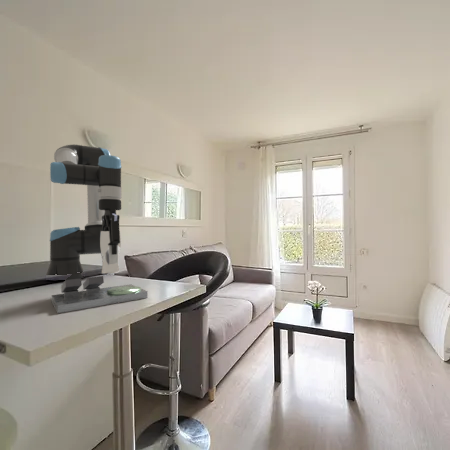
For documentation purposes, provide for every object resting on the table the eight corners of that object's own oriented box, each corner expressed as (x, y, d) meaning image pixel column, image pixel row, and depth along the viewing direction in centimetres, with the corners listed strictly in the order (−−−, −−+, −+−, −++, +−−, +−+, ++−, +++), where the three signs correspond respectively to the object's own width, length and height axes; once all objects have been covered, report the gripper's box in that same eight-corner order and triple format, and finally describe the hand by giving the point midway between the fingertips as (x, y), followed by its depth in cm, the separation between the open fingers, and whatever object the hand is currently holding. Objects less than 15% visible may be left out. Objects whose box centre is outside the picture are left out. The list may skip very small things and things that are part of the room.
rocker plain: (83, 289, 85) (83, 283, 86) (97, 287, 88) (96, 281, 88) (89, 284, 78) (88, 277, 79) (103, 282, 81) (103, 276, 81)
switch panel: (51, 301, 81) (51, 290, 81) (131, 289, 95) (131, 280, 96) (57, 313, 69) (57, 300, 69) (147, 297, 84) (147, 286, 84)
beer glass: (108, 270, 101) (107, 230, 101) (124, 271, 99) (124, 230, 99) (95, 273, 94) (95, 231, 94) (113, 274, 92) (113, 231, 93)
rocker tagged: (61, 292, 81) (61, 285, 82) (76, 290, 84) (75, 283, 84) (65, 287, 75) (65, 279, 75) (81, 285, 77) (81, 277, 78)
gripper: (92, 200, 102) (92, 260, 102) (106, 196, 87) (106, 266, 87) (113, 201, 107) (113, 259, 107) (129, 197, 91) (130, 264, 91)
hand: (110, 262), depth 97 cm, fingers closed on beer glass, 7 cm apart
